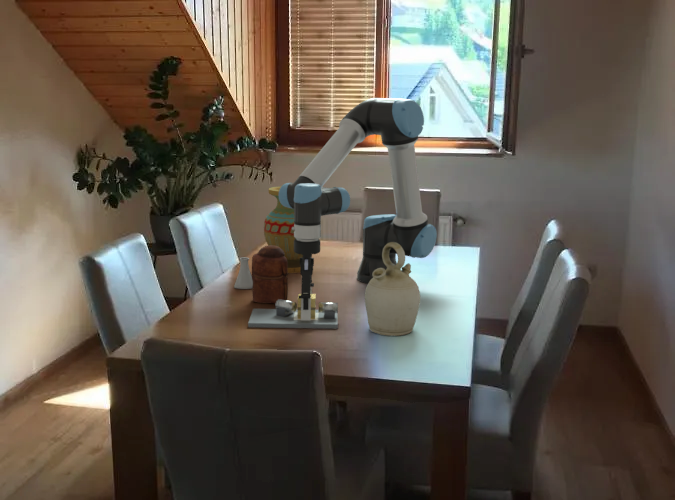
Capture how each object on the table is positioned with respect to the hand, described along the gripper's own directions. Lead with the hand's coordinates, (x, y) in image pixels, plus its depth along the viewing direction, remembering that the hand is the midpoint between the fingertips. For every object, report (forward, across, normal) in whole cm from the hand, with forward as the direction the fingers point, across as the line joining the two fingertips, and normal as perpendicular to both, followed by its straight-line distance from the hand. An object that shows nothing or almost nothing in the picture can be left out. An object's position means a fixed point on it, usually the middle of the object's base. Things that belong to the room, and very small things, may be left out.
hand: (306, 314), depth 209 cm
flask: (+2, -36, -22) cm, 42 cm away
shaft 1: (+1, -1, -6) cm, 6 cm away
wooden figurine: (+2, -19, -12) cm, 23 cm away
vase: (+2, -63, -8) cm, 64 cm away
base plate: (+2, 0, -4) cm, 4 cm away
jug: (+2, +7, +24) cm, 25 cm away
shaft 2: (+1, 0, +6) cm, 6 cm away
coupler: (+1, 0, 0) cm, 1 cm away
